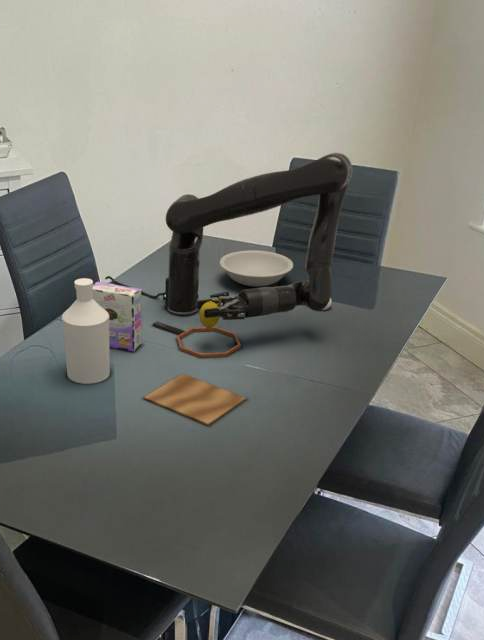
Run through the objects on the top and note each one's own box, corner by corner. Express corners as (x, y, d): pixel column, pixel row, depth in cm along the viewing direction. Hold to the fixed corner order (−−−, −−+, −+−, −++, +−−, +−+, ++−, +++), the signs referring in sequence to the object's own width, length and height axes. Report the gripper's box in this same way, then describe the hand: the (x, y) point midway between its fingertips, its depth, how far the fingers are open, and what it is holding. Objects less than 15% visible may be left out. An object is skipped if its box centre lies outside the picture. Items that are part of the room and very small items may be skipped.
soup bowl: (241, 264, 259) (242, 245, 255) (303, 279, 248) (305, 259, 244) (204, 285, 244) (205, 265, 240) (269, 302, 233) (271, 282, 229)
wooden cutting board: (143, 399, 186) (143, 396, 186) (182, 375, 196) (182, 373, 195) (208, 425, 176) (208, 423, 176) (245, 399, 186) (245, 397, 185)
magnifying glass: (136, 334, 215) (136, 331, 215) (172, 315, 226) (172, 312, 225) (215, 363, 201) (215, 359, 200) (250, 341, 211) (250, 338, 211)
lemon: (217, 333, 202) (219, 305, 197) (197, 332, 203) (198, 304, 198) (220, 325, 207) (221, 297, 202) (200, 323, 207) (201, 296, 203)
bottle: (60, 367, 199) (53, 277, 183) (101, 359, 203) (97, 270, 187) (74, 387, 190) (68, 294, 175) (117, 379, 194) (115, 286, 178)
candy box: (142, 344, 210) (142, 288, 200) (133, 352, 206) (133, 295, 196) (99, 335, 215) (97, 280, 204) (90, 343, 211) (87, 287, 200)
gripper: (250, 279, 207) (192, 286, 204) (270, 299, 196) (210, 306, 193) (248, 304, 212) (192, 311, 208) (267, 325, 201) (209, 333, 198)
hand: (201, 309), depth 201 cm, fingers closed on lemon, 5 cm apart
